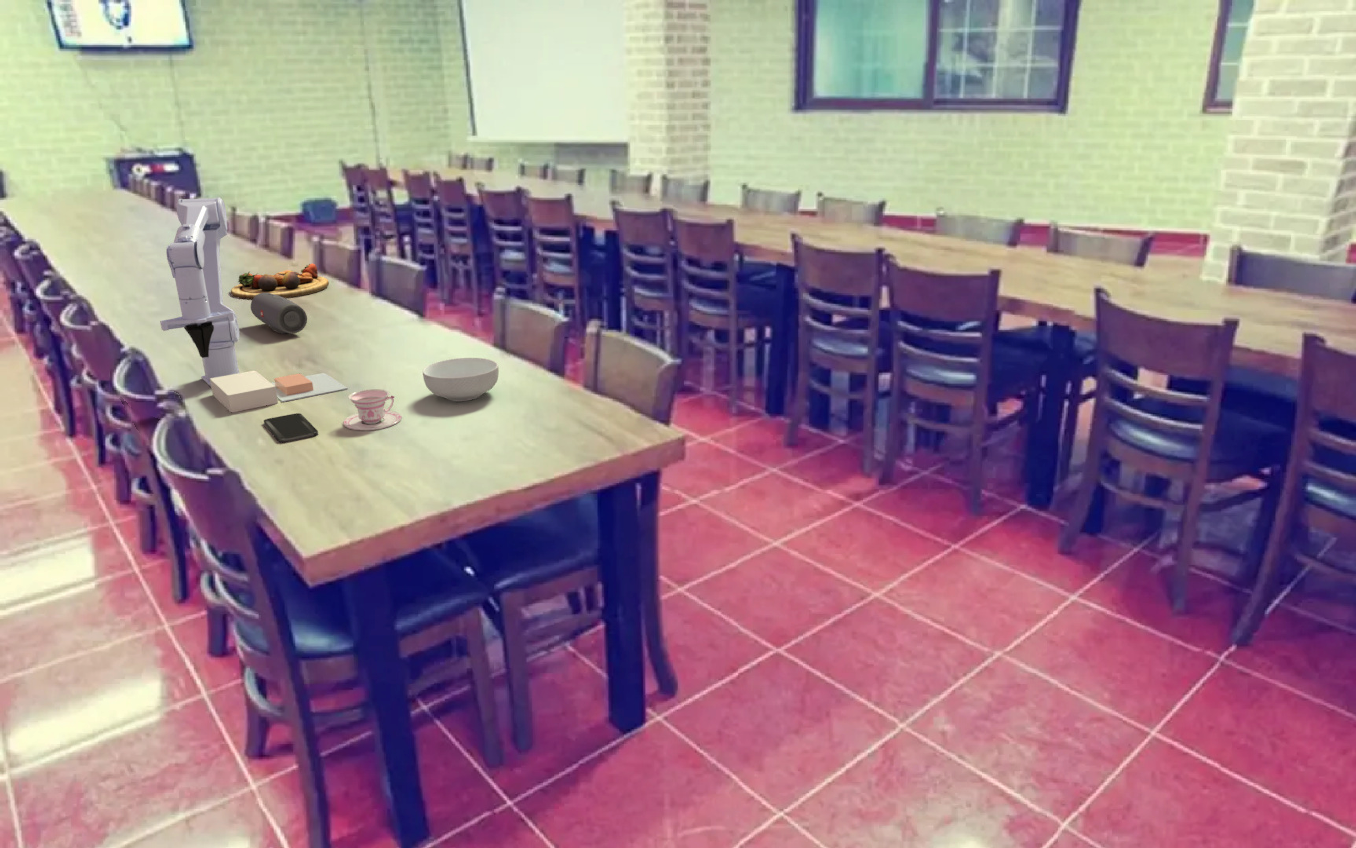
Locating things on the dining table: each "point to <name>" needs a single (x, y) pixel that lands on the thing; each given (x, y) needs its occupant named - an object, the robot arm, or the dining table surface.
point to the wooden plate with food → (280, 283)
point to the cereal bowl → (461, 378)
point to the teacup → (371, 410)
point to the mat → (320, 386)
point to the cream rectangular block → (243, 391)
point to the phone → (290, 428)
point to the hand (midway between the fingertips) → (204, 356)
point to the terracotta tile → (293, 384)
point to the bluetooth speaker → (279, 313)
